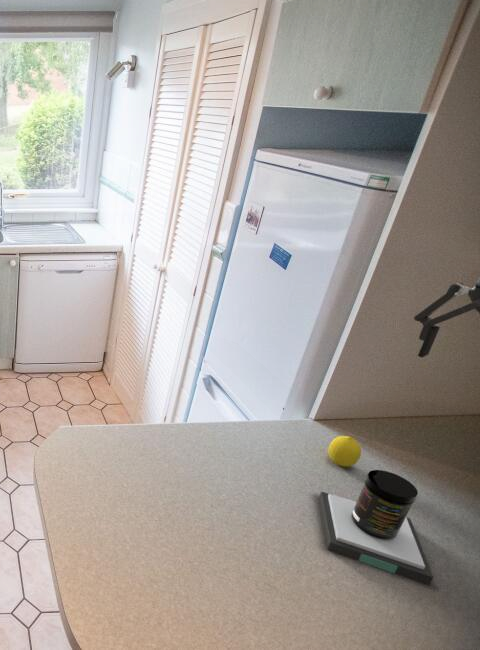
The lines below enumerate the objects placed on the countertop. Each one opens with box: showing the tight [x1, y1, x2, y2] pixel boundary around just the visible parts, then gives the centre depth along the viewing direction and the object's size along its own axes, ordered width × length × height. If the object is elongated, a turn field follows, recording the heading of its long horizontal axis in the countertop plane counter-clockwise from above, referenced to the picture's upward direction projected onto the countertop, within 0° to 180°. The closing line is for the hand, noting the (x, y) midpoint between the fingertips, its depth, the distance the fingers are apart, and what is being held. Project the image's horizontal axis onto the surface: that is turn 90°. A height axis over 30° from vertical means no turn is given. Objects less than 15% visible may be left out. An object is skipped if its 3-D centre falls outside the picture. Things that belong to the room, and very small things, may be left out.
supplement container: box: [351, 469, 419, 539], centre depth 82 cm, size 7×7×10 cm
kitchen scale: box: [317, 491, 434, 586], centre depth 85 cm, size 14×14×3 cm
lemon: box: [327, 435, 362, 467], centre depth 102 cm, size 6×6×8 cm
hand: (466, 369), depth 91 cm, fingers open, 13 cm apart
